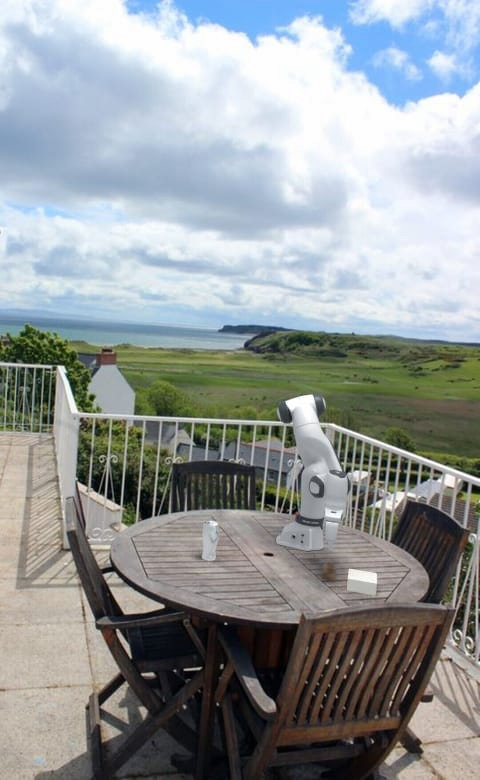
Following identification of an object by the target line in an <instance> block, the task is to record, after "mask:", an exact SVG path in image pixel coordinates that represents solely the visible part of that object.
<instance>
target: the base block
mask: <svg viewBox="0 0 480 780" xmlns="http://www.w3.org/2000/svg"><path fill="white" fill-rule="evenodd" d="M346 582H347V583H346V591H348V592H353V593H359V594H363V595H368V596H377V588H378V573H376V572H371V571H365V570H360V569H353V568H348V575H347V581H346Z"/></svg>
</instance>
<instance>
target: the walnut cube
mask: <svg viewBox="0 0 480 780" xmlns="http://www.w3.org/2000/svg"><path fill="white" fill-rule="evenodd" d="M336 573H337V564H334V563H329V562H328V563H327V562H324V563H323V566H322V576H321V579H322V580H324V581H325V580H326V581H329V582H330V581H331V582H335V581H336V575H337V574H336Z"/></svg>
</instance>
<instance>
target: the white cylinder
mask: <svg viewBox="0 0 480 780" xmlns="http://www.w3.org/2000/svg"><path fill="white" fill-rule="evenodd" d="M201 533H202V535H201V536H202V553H201V560H203V561H207V562H212V561H215V560H216V558H217V556H216V555H217V553H216V549H217V545H218V541H219V538H220V522H218V521H214V520H206V521H203V527H202V532H201Z"/></svg>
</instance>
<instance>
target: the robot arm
mask: <svg viewBox="0 0 480 780" xmlns="http://www.w3.org/2000/svg"><path fill="white" fill-rule="evenodd" d="M326 408H327V407H326V401H325V398H324V397H323V396H322V394H320V393H312V394H305V395H300V396H297V397H293V398H291V399H287V400H283V401H281V402H279V403H278V404H277V408H276V409H277V410H276V415H277V418H278V419H279V420H280V422H281V423H283V424H288V425H289V424H291V423H292V428H293V435H294V440H295V443H296V447H297V452H298V453H297V454H298V455H299V456H300V458H301V461H302V463H303V466H304V467H303V468H304V469H303V470H302V472H301V478H300V480H301V481H300V483H301V484H300V486H301V489H300V490H301V492H300V493H301V494H300V495H301V497H300V499H301V500H300V510H299V511H296V512H295V514H294V515H295V517H294V521H292V522H290V523H288V524H286V525H285V526H284V527H283V529H282V530H281V534H279V535H277V536H276V539H275V543H276V544H277V545H278V546H283V547H287V548H291V549H296V550H299V551H303V552H311V551H317V550H318V551H319V550H323V549H324V548H325V546H324V545H325V544H324V537H323V536H324V535H323V534H324V533H323V532H324V531H323V529H324V526H325V540H326V541H328V542H327V543H328V544H327V545H328V546H327V547H328V550H331V551H332V550H333V549H334V544H335V541H336V539H337V536H338V531H339V528H340V524H341V522H342V520H343V519H344V518H346V512H347V501H346V500H347V496H348V495H349V494H350V491H351V489H352V482H351V480H350V478H349V476H348V475H347V473H346V472H345V470H344V467H343V464H342V462H341V460H340V458H339V456H338V453H337V451H336V449H335V447H334V445H333V443H332V441H331V440H330V439H329V438H328V437H327V436H326V435H325V433H324V431H323V429H322V427H321V425H320V421H319V419H320V417H321V416H323V415H324V414H325V412H326Z"/></svg>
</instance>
